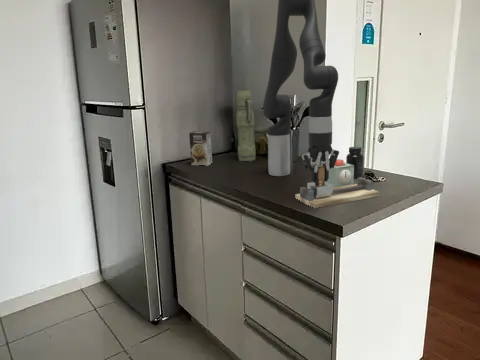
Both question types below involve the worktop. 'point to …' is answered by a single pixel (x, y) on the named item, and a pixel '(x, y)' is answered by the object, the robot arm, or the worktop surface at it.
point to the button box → (341, 175)
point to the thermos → (245, 126)
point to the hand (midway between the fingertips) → (319, 181)
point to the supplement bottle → (356, 161)
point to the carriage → (321, 184)
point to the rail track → (339, 194)
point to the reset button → (339, 162)
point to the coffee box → (200, 148)
